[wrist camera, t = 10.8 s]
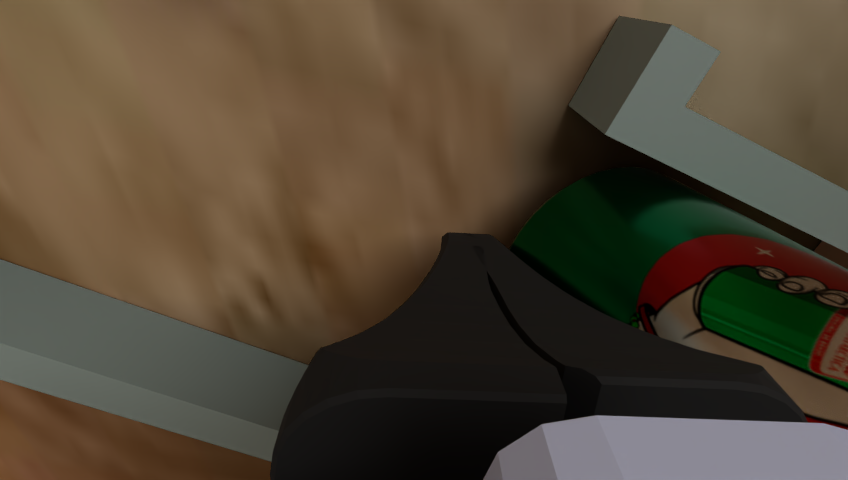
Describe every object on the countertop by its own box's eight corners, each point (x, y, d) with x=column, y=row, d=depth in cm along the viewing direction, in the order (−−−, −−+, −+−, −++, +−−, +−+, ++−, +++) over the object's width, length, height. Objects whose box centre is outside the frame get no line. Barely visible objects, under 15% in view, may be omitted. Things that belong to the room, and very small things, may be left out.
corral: (920, 178, 13) (1029, 221, 11) (632, 503, 17) (664, 580, 15) (-253, -457, 8) (-511, -627, 6) (-223, 219, 13) (-361, 270, 10)
